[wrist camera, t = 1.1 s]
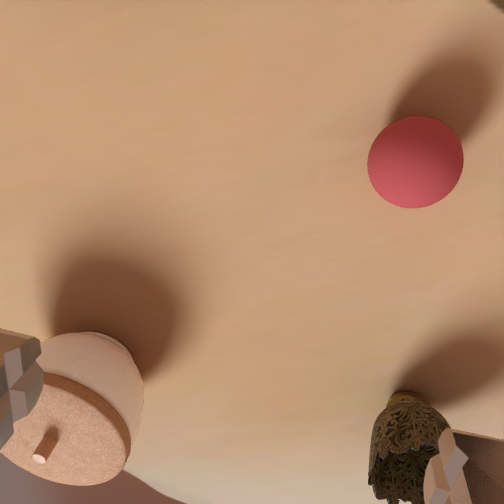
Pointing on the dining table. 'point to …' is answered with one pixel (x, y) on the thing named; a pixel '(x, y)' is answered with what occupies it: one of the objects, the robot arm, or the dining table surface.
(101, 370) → the lidded bowl
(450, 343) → the dining table surface
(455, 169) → the red rubber ball
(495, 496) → the robot arm
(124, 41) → the dining table surface
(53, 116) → the dining table surface
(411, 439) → the cup
